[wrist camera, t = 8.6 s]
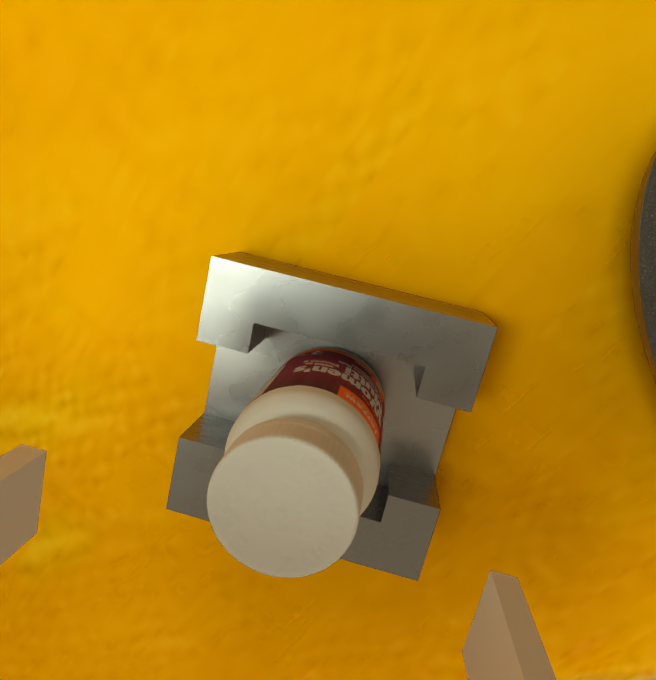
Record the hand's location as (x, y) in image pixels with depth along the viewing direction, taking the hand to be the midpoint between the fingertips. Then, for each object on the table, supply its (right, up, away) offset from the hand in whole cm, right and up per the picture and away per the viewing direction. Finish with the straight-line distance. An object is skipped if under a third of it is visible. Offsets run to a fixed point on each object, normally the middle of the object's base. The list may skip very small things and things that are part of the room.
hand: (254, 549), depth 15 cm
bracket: (+2, +3, +14) cm, 14 cm away
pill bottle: (+2, +3, +13) cm, 14 cm away
